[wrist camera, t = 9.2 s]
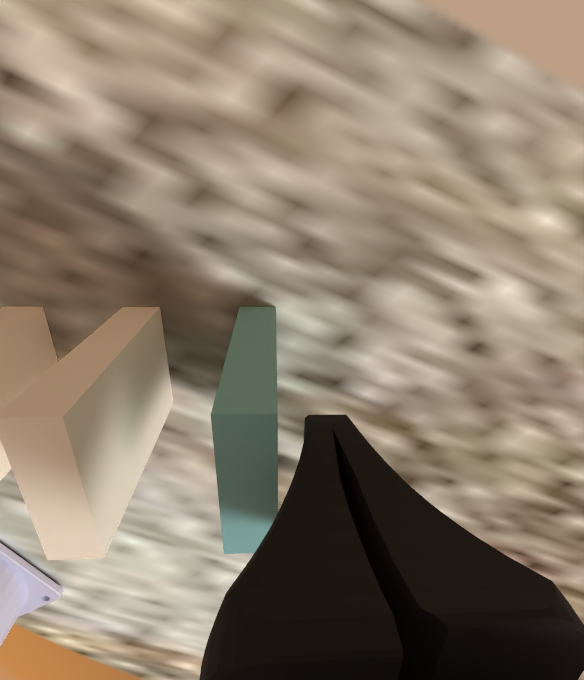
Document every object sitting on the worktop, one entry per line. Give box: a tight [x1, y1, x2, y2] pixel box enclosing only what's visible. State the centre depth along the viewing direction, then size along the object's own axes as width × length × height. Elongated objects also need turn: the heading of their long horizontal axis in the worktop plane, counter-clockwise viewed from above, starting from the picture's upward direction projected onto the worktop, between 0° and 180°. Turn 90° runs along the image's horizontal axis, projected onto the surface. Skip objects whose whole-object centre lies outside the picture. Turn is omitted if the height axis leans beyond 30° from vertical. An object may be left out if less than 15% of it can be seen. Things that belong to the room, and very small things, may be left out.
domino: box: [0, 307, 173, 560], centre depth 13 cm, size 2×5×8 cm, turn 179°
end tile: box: [211, 307, 278, 554], centre depth 13 cm, size 2×5×8 cm, turn 179°
